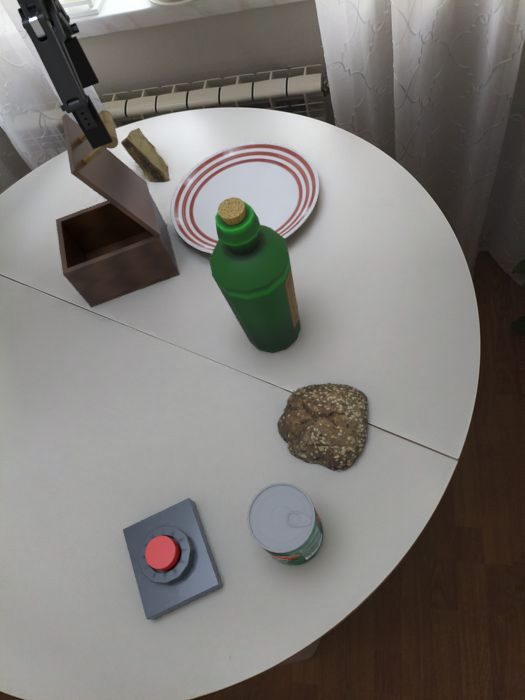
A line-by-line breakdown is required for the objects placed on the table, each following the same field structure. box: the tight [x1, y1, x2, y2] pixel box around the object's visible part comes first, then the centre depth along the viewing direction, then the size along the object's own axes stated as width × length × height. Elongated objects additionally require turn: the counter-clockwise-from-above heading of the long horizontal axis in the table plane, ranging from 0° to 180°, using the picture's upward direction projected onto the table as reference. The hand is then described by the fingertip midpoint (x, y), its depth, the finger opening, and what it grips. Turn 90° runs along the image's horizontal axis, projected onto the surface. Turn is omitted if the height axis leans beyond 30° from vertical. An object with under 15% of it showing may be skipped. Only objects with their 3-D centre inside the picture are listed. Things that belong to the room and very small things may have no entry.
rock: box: [120, 127, 171, 183], centre depth 110 cm, size 11×9×10 cm
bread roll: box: [276, 382, 369, 471], centre depth 77 cm, size 13×12×5 cm
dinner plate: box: [170, 141, 320, 255], centre depth 101 cm, size 28×27×3 cm
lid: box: [61, 109, 161, 237], centre depth 84 cm, size 18×13×7 cm
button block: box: [122, 497, 224, 621], centre depth 72 cm, size 12×10×4 cm
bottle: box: [208, 197, 301, 353], centre depth 76 cm, size 11×11×28 cm
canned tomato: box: [246, 482, 325, 567], centre depth 68 cm, size 8×8×11 cm
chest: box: [55, 191, 180, 308], centre depth 97 cm, size 17×13×10 cm
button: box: [145, 536, 180, 571], centre depth 70 cm, size 4×4×2 cm
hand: (96, 113), depth 75 cm, fingers open, 13 cm apart
